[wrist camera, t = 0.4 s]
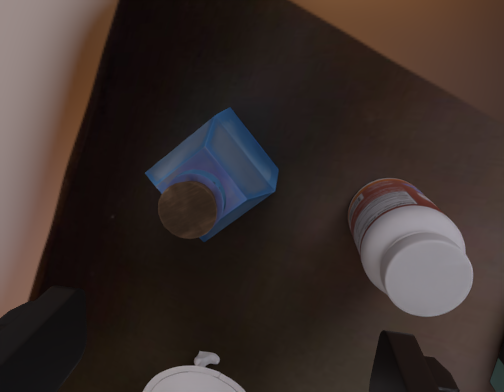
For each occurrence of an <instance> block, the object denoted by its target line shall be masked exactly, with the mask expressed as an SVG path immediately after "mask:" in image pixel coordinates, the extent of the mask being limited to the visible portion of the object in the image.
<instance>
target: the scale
mask: <svg viewBox="0 0 504 392" xmlns="http://www.w3.org/2000/svg"><path fill="white" fill-rule="evenodd" d="M490 383H491V385H492V386H493V388H494V389H495V391H496V392H504V342H503V345H502V348H501V351H500V354H499V356H498V359H497V362H496V365H495V368H494V371H493V374H492V377H491V380H490Z"/></svg>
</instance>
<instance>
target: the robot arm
mask: <svg viewBox="0 0 504 392" xmlns="http://www.w3.org/2000/svg"><path fill="white" fill-rule="evenodd" d="M86 342H87V326H86V297H85V292H84V290H83V289H80V288H72V287H65V286H57V285H54V286H52V287H50V288H49V289H48V290H47V291H46V292H45V293H43V294H42V295H41V296H40V297H39V298H38V299H37V300H35V301H29V302H27V303H25V304H22V305H20V306H18V307H16V308H14V309H12V310H10V311H9V312H7V313H6V314H5V315H4V316H3V317H1V318H0V392H57V391H58V389H59V388H60V387H61V385H62V384H63V383H64V381H65V380H66V379H67V377H68V376H69V375H70V373H71V372H72V371H73V369H74V368H75V367H76V365H77V364H78V363H79V361H80V360H81V358H82V356H83V353H84V350H85V347H86ZM459 391H460V390H459V389H458V387H457V385H456V383H455V381H454V379H453V377H452V375H451V373H450V372H449V371H448V370H446V369H445V368H444V367H443V366H442V365H441V364H440V363H439V362H438V361H437V360H436V359H435V358H433V357H426V356H424V355H423V353H422V351H421V349H420V347H419V345H418V343H417V340H416V338H415V336H414V335H413V334H407V333H400V332H392V331H385V330H383V331H382V332H381V334H380V336H379V341H378V345H377V350H376V355H375V359H374V364H373V369H372V373H371V378H370V387H369V392H459Z"/></svg>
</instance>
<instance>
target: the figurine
mask: <svg viewBox="0 0 504 392" xmlns="http://www.w3.org/2000/svg"><path fill="white" fill-rule="evenodd" d="M219 361H220V358H219V356H218V355H216V354H215V353H212V352H202V351H199V354H198V355H197V357H195V359H194V364H195V365H196V366H179V367H174V368H170V369H168V370H165V371H163V372H161V373H159V374H158V375H156V376H155V377H154V378H152V379H151V380H150V382H149V383H148V384H147V386H146V387H145V389H144V390H143V392H236V391H237V392H245V391H244V389H243V388H242V387H241V386H240V385H238V384H237V383H236V382H235V381H233V380H232V379H230V378H229V377H227V376H225V375H223V374H222V373H221V372H218V371H215V370H212V369H209V368H205V366H206V365H208V364H210V363H211V364H218V363H219ZM180 372H183V373H180ZM175 373H178V374H175ZM220 373H221V374H220ZM172 374H174V375H172ZM169 375H171V376H169ZM219 375H220V376H219ZM167 376H168V377H167ZM213 376H215V377H213ZM165 377H166V378H165ZM216 377H219V379H218V378H216ZM163 378H164V379H163ZM162 379H163V380H162ZM160 380H161V381H160ZM221 380H222V381H221ZM159 381H160V382H159ZM223 381H224V382H223ZM158 382H159V383H158ZM225 382H226V383H227V384H226V383H225ZM228 384H229V385H230V386H229V385H228ZM155 385H156V386H155ZM154 386H155V387H154ZM231 386H232V387H233V388H234V389H235V390H236V391H235V390H234V389H233V388H232V387H231ZM153 387H154V388H153ZM151 390H152V391H151Z"/></svg>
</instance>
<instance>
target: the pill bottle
mask: <svg viewBox="0 0 504 392" xmlns="http://www.w3.org/2000/svg"><path fill="white" fill-rule="evenodd" d="M348 223H349V228H350V231H351V234H352V236H353V239H354V242H355V245H356V248H357V250H358V253H359V256H360V259H361V262H362V265H363V268H364V270H365V272H366V274H367V276H368V278H369V279H370V280H371V282H372V283H373V284H374V285H375V286H376V287H377V288H379V289H380V290H381V291H383V292H384V293H386V294H387V295H388V296H389V298H390V300H391V301H392V302H393V303H394V304H395V305H396V306H397V307H398V308H400V309H401V310H403V311H404V312H407V313H409V314H412V315H416V316H422V317H430V316H438V315H441V314H444V313H447V312H449V311H451V310H452V309H454V308H456V307H457V306H458V305H459V304H460V303H461V302H462V301H463V300H464V299H465V298H466V297H467V295H468V293H469V291H470V289H471V286H472V282H473V269H472V265H471V263H470V261H469V259H468V257H467V256H466V253H465V243H464V240H463V237H462V235H461V233H460V231H459V229H458V228H457V227H456V225H455V224H454V223H453V222H452V221H451V220H450V219H449V218H448V217H447V216H446V215H445V214H444V213H443V212H442V211H441V210H440V209H439V208H438V207H437V206H436V205H435V204H433V203H432V202H431V201H430V200H429V199H428V198H427V197H426V196H425V195H424V194H423V193H422V192H421V191H420V190H419V189H417V188H416V187H415V186H413V185H412V184H410V183H408V182H406V181H404V180H401V179H396V178H383V179H378V180H375V181H372V182H370V183H368V184H367V185H365V186H364V187H362V188H361V189H360V190H359V191H358V192H357V193H356V195H355V196H354V197H353V199H352V201H351V203H350V206H349V210H348Z"/></svg>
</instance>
